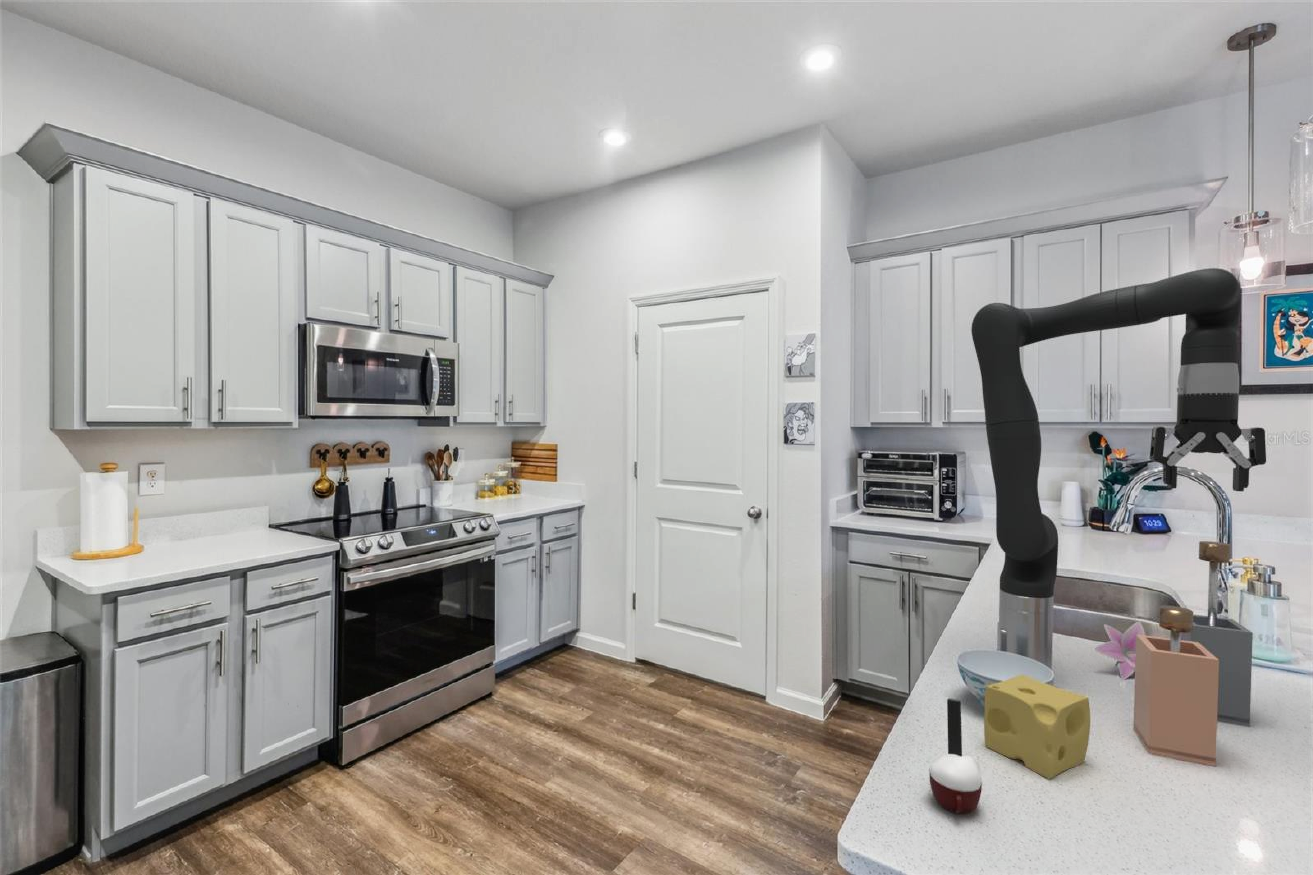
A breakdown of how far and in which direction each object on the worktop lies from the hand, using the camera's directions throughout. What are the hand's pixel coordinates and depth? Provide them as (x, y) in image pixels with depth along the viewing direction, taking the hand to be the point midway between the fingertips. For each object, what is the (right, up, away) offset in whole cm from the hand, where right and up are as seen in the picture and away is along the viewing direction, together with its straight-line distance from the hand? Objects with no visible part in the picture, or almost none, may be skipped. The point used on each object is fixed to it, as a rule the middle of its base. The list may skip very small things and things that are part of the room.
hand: (1204, 489), depth 100 cm
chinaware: (-29, -40, +7) cm, 50 cm away
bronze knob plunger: (-10, -35, -6) cm, 36 cm away
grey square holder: (+7, -40, +6) cm, 41 cm away
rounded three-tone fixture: (-51, -41, -20) cm, 68 cm away
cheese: (-33, -40, -8) cm, 53 cm away
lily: (+5, -40, +22) cm, 46 cm away
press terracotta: (-10, -40, -5) cm, 42 cm away
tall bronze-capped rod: (+7, -26, +6) cm, 28 cm away
